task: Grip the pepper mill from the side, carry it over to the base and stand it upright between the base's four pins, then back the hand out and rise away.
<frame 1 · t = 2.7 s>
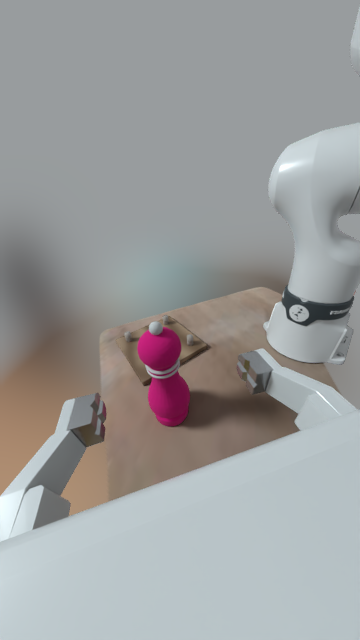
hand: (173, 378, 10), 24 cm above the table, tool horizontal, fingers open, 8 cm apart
pepper mill: (172, 409, 34), on the table
pin base: (159, 345, 48), on the table
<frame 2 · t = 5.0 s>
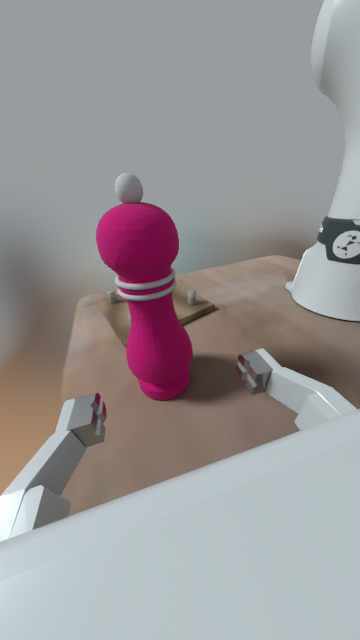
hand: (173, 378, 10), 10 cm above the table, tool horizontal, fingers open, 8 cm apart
pepper mill: (165, 378, 23), on the table
pin base: (152, 308, 37), on the table
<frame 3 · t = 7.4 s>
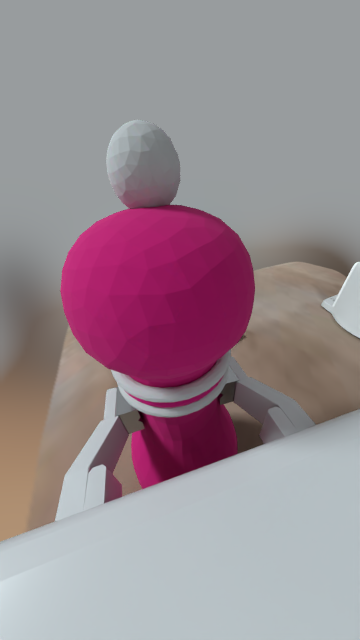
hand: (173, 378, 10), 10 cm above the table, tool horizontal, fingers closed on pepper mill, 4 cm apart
pepper mill: (187, 463, 15), on the table, touching gripper
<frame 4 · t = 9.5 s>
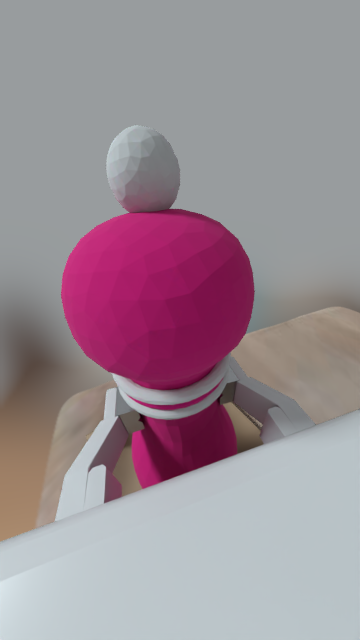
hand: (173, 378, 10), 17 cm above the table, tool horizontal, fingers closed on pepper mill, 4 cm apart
pepper mill: (187, 464, 15), point 6 cm above the table, touching gripper
pin base: (184, 459, 21), on the table
when the fingers open (13 cm above the table, at t = 11.6 s): pepper mill drops 1 cm, resting on pin base.
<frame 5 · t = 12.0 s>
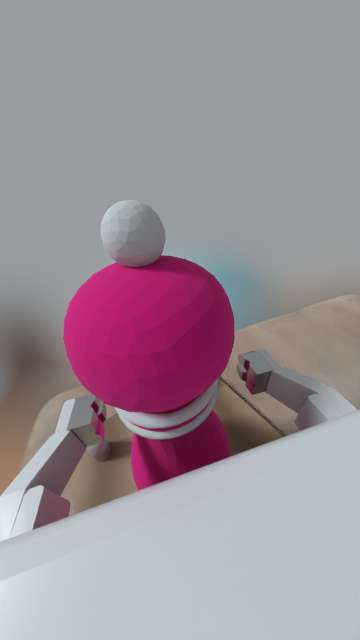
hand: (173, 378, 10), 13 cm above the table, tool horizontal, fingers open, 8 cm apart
pepper mill: (185, 470, 16), point 1 cm above the table, touching pin base
pin base: (189, 473, 17), on the table
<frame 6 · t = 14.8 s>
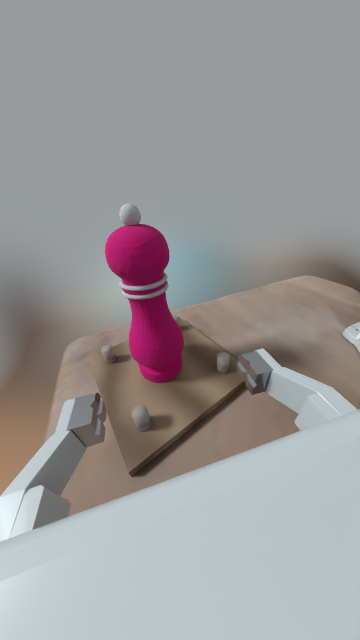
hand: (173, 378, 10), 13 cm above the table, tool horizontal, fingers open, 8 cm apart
pepper mill: (161, 366, 26), point 1 cm above the table, touching pin base
pin base: (164, 369, 27), on the table
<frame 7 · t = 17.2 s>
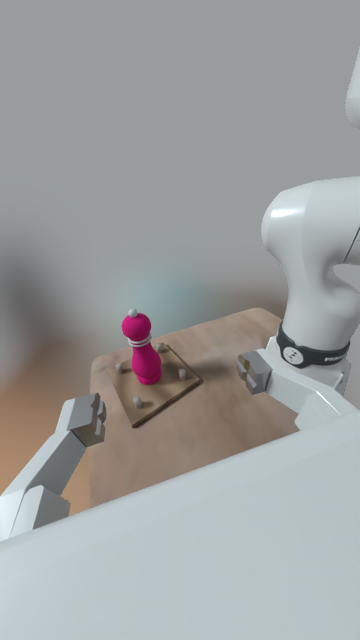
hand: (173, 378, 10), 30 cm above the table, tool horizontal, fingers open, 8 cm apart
pepper mill: (150, 375, 47), point 1 cm above the table, touching pin base
pin base: (151, 377, 47), on the table
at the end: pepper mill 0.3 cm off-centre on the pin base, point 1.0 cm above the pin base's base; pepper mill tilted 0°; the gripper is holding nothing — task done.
